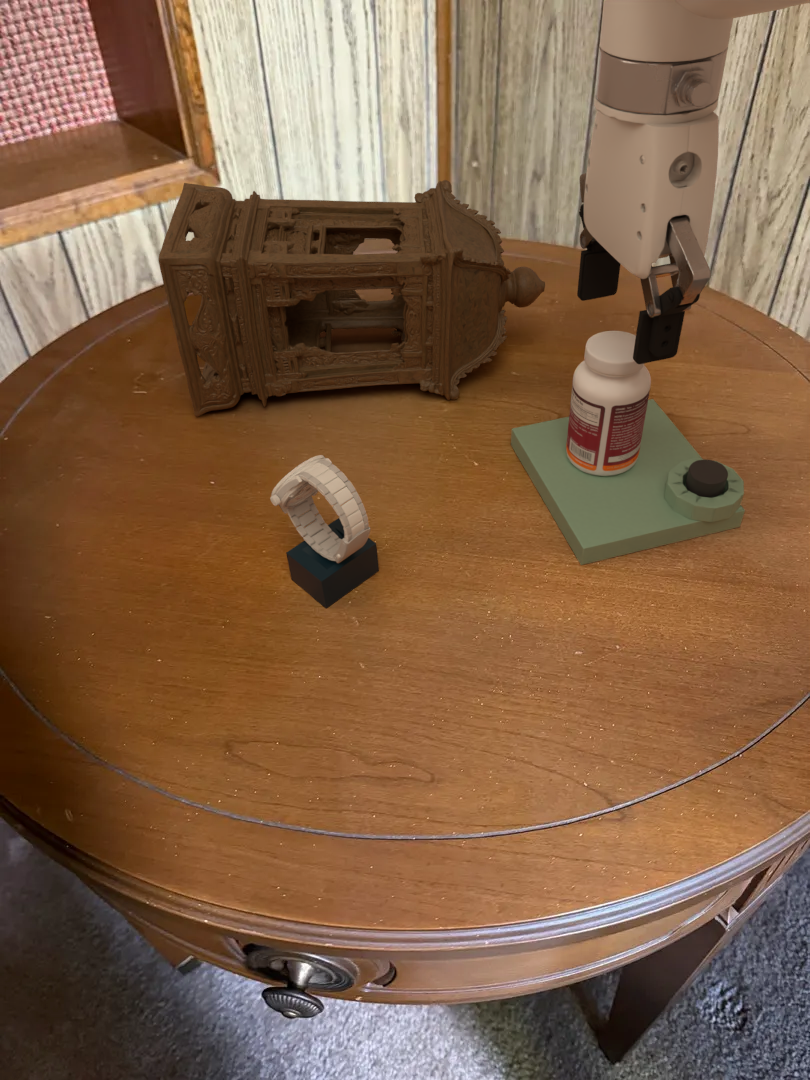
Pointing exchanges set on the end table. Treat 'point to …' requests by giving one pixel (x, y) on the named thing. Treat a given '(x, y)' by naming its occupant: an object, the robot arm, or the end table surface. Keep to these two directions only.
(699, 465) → the button
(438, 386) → the brown lantern
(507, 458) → the end table surface
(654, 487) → the scale
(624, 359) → the pill bottle
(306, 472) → the watch
